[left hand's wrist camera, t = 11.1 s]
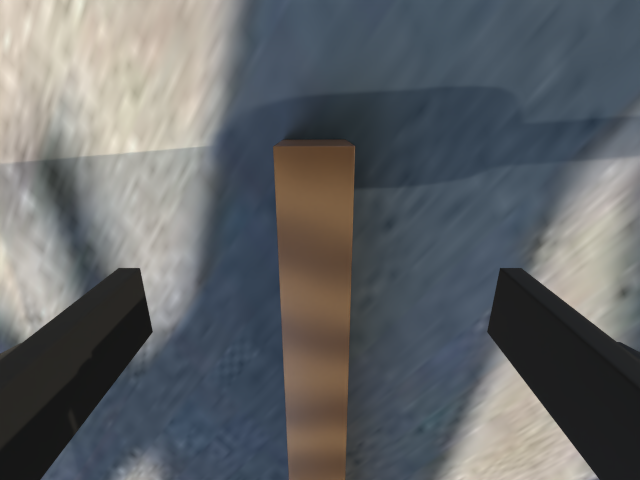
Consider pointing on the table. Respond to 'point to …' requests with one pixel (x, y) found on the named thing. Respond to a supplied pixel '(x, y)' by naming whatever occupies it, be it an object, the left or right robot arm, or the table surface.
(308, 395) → the post
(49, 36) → the table surface
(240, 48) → the table surface
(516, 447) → the table surface
